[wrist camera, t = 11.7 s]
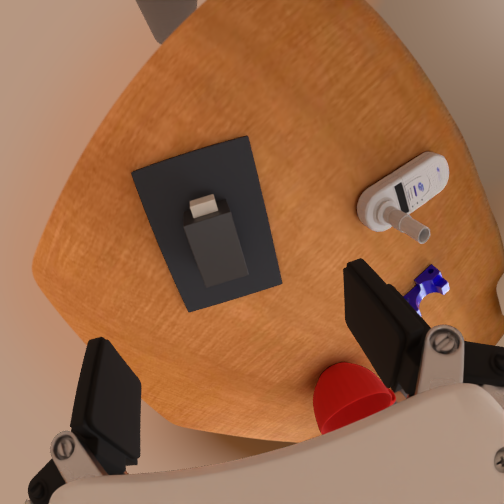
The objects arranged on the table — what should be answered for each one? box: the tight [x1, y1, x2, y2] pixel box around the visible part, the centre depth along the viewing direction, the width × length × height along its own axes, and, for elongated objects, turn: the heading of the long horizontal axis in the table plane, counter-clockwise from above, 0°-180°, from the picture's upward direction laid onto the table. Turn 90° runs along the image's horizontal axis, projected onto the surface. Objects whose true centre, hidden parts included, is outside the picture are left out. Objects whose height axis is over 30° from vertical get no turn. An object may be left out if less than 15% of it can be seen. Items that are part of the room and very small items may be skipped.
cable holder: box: [404, 264, 450, 316], centre depth 41 cm, size 8×4×4 cm, turn 129°
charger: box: [183, 194, 249, 288], centre depth 30 cm, size 8×4×4 cm, turn 13°
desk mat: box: [131, 136, 282, 312], centre depth 32 cm, size 18×12×1 cm, turn 13°
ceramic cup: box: [313, 362, 396, 435], centre depth 45 cm, size 13×17×10 cm
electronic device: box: [357, 152, 449, 244], centre depth 30 cm, size 5×10×15 cm
